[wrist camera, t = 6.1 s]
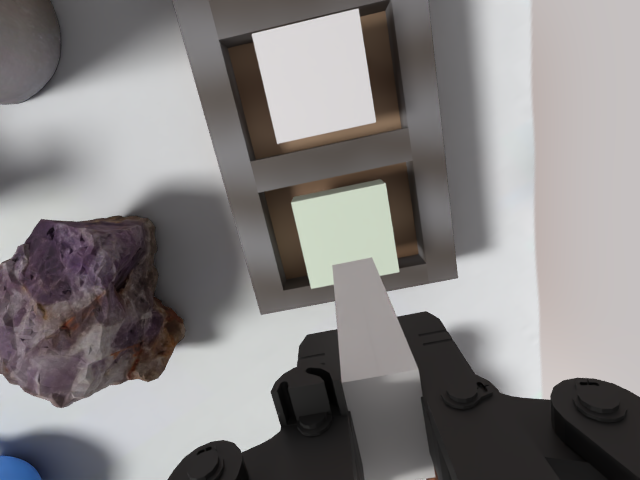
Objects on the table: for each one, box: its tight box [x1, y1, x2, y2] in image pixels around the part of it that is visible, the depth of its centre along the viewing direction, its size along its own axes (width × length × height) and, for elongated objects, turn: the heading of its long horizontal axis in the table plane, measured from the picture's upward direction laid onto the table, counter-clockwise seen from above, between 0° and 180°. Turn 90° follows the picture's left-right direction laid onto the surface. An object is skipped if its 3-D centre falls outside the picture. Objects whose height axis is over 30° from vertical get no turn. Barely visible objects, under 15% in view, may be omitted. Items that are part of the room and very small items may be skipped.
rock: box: [0, 216, 186, 408], centre depth 24 cm, size 12×9×10 cm
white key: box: [252, 9, 376, 144], centre depth 20 cm, size 6×6×2 cm
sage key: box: [291, 179, 399, 289], centre depth 22 cm, size 6×6×2 cm
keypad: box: [172, 0, 458, 315], centre depth 23 cm, size 28×14×4 cm, turn 12°
